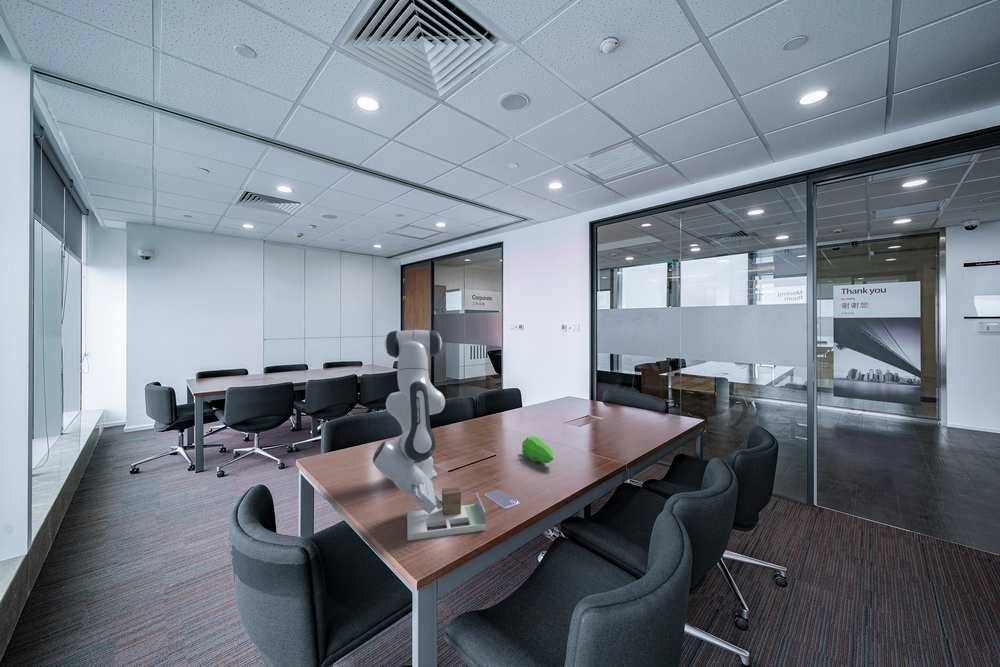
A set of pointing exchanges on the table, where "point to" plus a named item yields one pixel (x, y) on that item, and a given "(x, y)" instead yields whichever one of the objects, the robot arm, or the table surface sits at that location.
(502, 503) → the mobile phone
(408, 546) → the table surface
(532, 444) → the green faceted blob
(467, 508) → the track
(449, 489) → the walnut block
